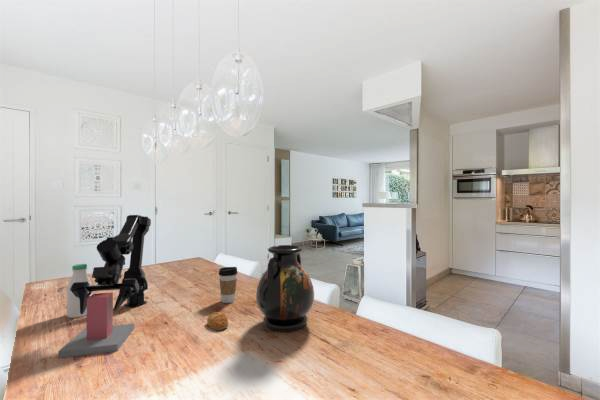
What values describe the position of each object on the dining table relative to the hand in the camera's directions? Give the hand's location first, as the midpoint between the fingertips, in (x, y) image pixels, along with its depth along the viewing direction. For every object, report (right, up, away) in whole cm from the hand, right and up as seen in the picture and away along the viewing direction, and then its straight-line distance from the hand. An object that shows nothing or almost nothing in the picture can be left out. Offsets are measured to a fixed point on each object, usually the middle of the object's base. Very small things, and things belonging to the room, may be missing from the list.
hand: (98, 312), depth 87 cm
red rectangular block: (0, -8, +1) cm, 8 cm away
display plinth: (0, -10, +1) cm, 10 cm away
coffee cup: (+31, -11, +38) cm, 51 cm away
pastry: (+34, -11, +14) cm, 38 cm away
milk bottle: (-25, -11, +24) cm, 36 cm away
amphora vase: (+59, -10, +15) cm, 61 cm away
